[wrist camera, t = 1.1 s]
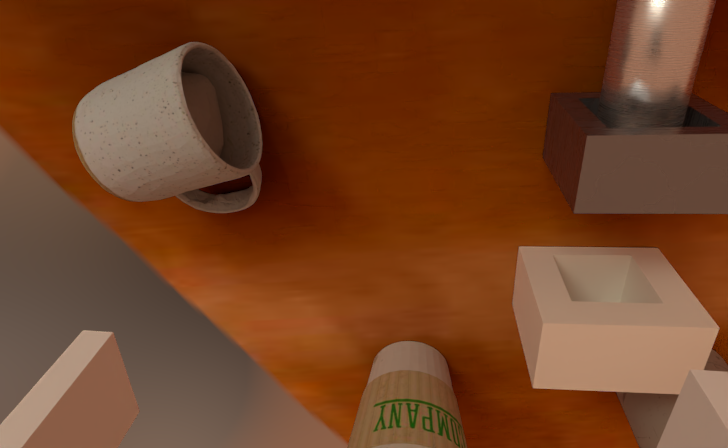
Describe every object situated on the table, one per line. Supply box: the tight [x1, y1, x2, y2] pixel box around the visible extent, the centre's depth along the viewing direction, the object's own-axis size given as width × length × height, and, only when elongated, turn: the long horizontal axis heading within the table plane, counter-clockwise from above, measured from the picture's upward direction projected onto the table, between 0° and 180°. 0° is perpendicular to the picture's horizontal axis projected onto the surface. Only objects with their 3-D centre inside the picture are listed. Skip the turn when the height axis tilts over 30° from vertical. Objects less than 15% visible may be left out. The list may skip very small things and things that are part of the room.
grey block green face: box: [597, 0, 716, 128], centre depth 22 cm, size 20×4×9 cm, turn 3°
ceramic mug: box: [72, 42, 263, 213], centre depth 29 cm, size 11×8×8 cm
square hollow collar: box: [543, 92, 728, 214], centre depth 26 cm, size 4×7×7 cm, turn 93°
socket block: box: [512, 246, 719, 394], centre depth 32 cm, size 5×9×8 cm, turn 93°
